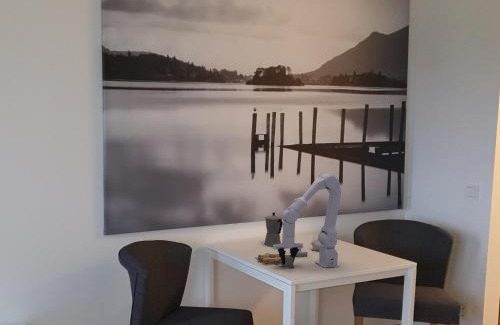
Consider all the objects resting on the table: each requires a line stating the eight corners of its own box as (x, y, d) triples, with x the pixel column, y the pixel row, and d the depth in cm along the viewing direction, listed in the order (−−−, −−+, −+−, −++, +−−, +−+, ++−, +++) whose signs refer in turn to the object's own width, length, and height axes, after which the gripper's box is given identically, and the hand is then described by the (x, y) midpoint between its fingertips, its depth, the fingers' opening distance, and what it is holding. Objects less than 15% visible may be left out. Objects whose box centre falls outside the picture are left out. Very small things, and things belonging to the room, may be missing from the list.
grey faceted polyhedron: (322, 254, 297) (332, 238, 299) (308, 245, 298) (318, 229, 301) (320, 256, 305) (329, 240, 307) (306, 247, 306) (315, 232, 308)
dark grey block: (292, 267, 268) (293, 256, 268) (285, 267, 267) (285, 257, 266) (289, 265, 272) (290, 254, 271) (281, 265, 270) (282, 255, 270)
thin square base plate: (289, 263, 274) (289, 263, 274) (264, 265, 270) (264, 264, 270) (279, 256, 287) (279, 255, 287) (254, 257, 283) (254, 257, 283)
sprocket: (291, 263, 274) (291, 251, 273) (263, 264, 269) (263, 253, 269) (280, 255, 288) (280, 244, 287) (253, 257, 283) (253, 246, 282)
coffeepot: (259, 243, 315) (260, 210, 313) (273, 241, 320) (274, 209, 318) (273, 249, 302) (274, 215, 300) (288, 247, 306) (289, 214, 305)
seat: (307, 256, 288) (307, 252, 288) (296, 257, 286) (296, 252, 286) (300, 252, 297) (300, 247, 297) (289, 252, 295) (289, 248, 295)
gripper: (299, 232, 274) (298, 260, 275) (271, 234, 269) (270, 262, 271) (305, 235, 267) (304, 264, 269) (276, 237, 263) (275, 266, 264)
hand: (287, 263), depth 269 cm, fingers closed on dark grey block, 4 cm apart
